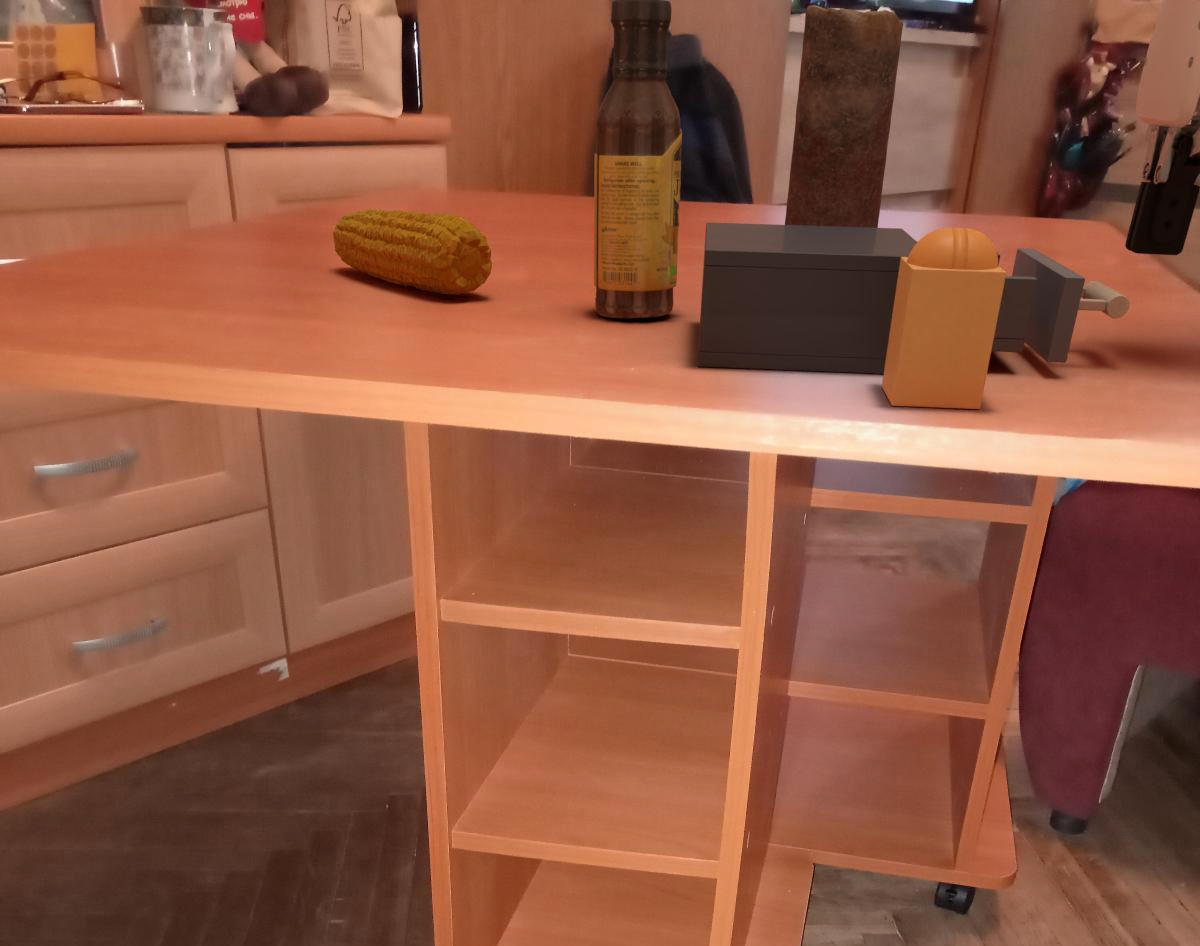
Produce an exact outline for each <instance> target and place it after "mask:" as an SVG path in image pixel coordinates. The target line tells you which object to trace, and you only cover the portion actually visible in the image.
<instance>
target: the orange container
mask: <svg viewBox="0 0 1200 946" xmlns="http://www.w3.org/2000/svg"><path fill="white" fill-rule="evenodd" d="M997 253H998V252H997V250H996V248H995V246H994V244H993V242H992V241H991V240H990V239H989V238H988V236H987V235H985V234H984V233H982V232H981V231H979V230H976V229H974V228H968V227H940V228H938V229H934V230H932V231H930V232H928V233H926V234H925V235H924V236H922V237H921V238H920V239H919V240H918V241H917V243H916V245H915V246H914V247H913V249H912V250H911V252H910V254H909V256H908V257H901V260H900V266H899V273H898V280H897V287H896V293H895V300H894V307H893V314H892V321H891V327H890V334H889V341H888V348H887V355H886V361H885V368H884V374H882V375H883V376H882V383H881V388H882V390H883V391H884V394H885V395H886V398H887V400H888V401H889V403H890V405H891V406H893V407H894V406H895V407H915V408H939V409H941V408H943V409H964V410H968V409H969V410H980V409H981V407H982V401H983V396H984V390H985V385H986V380H987V375H988V370H989V365H990V359H991V355H992V351H991V350H992V344H993V339H994V334H995V329H996V324H997V319H998V313H999V308H1000V303H1001V298H1002V293H1003V288H1004V282H1005V277H1006V276H1007V271H1005V270H1004V269H1003V268H1001V267H1000V266H998V256H997Z"/></svg>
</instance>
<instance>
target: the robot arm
mask: <svg viewBox="0 0 1200 946" xmlns="http://www.w3.org/2000/svg"><path fill="white" fill-rule="evenodd" d="M1135 112H1136V115H1137V116H1138V118H1139V119H1140V120H1141V121H1142V122H1143V123H1144V124H1146V125H1147V126H1148V127H1147V130H1146V133H1145V143H1146V144H1147V145H1148V146H1147V149H1146V154H1145V159H1144V164H1143V168H1142V174H1141V182H1140V185H1139V189H1138V192H1137V196H1136V201H1135V205H1134V208H1133V213H1132V216H1131V219H1130V224H1129V228H1128V232H1127V234H1126V235H1127V236H1126V240H1125V244H1124V246H1125V249H1126V250H1128V251H1130V252H1132V253H1135V254H1139V255H1142V254H1143V255H1161V256H1178V255H1180V254H1181V253H1182V252H1183V250H1184V247H1185V244H1186V239H1187V237H1188V233H1189V229H1190V226H1191V223H1192V219H1193V215H1194V211H1195V208H1196V204H1197V201H1198V197H1199V193H1200V0H1161V2H1160V4H1159V8H1158V12H1157V16H1156V19H1155V22H1154V26H1153V29H1152V33H1151V37H1150V40H1149V45H1148V49H1147V53H1146V55H1145V60H1144V65H1143V69H1142V72H1141V75H1140V81H1139V85H1138V90H1137V95H1136V102H1135ZM1189 123H1190V124H1189Z"/></svg>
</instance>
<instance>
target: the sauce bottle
mask: <svg viewBox="0 0 1200 946" xmlns="http://www.w3.org/2000/svg"><path fill="white" fill-rule="evenodd" d="M671 21H672V3H671V1H670V0H612V1H611V10H610V23H611V26H612V29H613V65H612V67H611V72H612V78H613V79H612V83H611V85H610V86H609V88H608V90H607V92H606V94H605V96H604V97H603V100H602V102H601V104H600V105H599V108H598V111H597V115H596V121H595V152H594V168H593V169H594V178H593V179H594V183H593V184H594V185H593V186H594V187H593V191H594V192H593V194H594V195H593V196H594V197H593V285H594V287H595V299H594V301H595V303H594V305H595V310H596V313H597V314H598V315H599V316H601V317H604V318H612V319H621V320H622V319H623V320H624V319H626V320H627V319H645V318H646V319H647V318H648V319H649V318H658V317H664V316H666V315H669V314H670V313H671V312H672V310H673V308H674V288H675V287H676V286H677V281H678V255H679V254H678V252H679V251H678V250H679V228H680V204H681V203H680V202H681V184H682V180H681V178H682V177H681V175H682V145H683V130H682V128H681V117H680V116H681V115H680V111H679V108H678V106H677V103H676V101H675V98H674V97H673V95H672V93H671V90H670V88H669V86H668V84H667V82H666V78H667V75H668V63H667V62H668V35H669V34H668V33H669V28H670V26H671Z"/></svg>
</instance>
